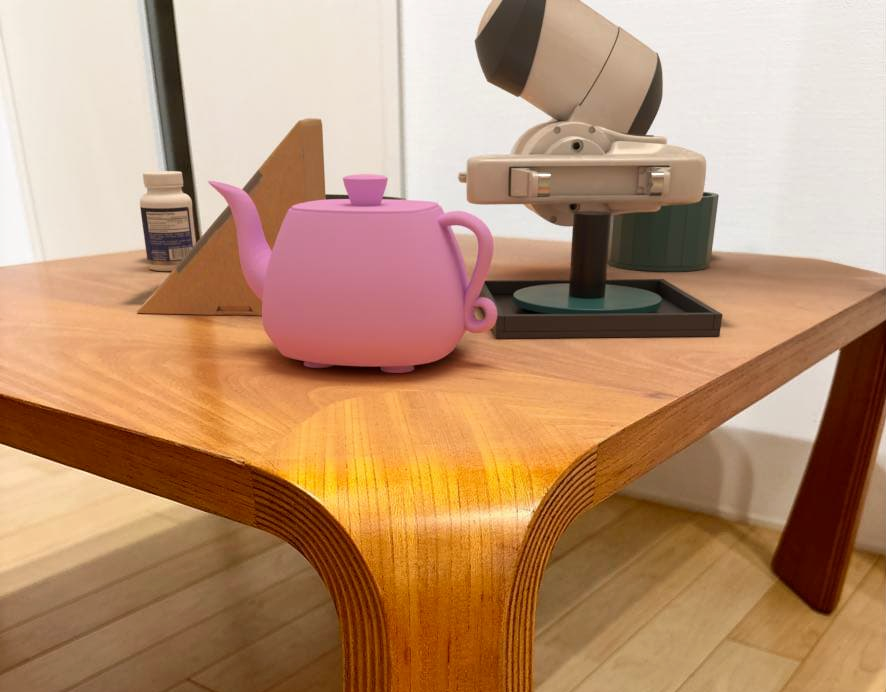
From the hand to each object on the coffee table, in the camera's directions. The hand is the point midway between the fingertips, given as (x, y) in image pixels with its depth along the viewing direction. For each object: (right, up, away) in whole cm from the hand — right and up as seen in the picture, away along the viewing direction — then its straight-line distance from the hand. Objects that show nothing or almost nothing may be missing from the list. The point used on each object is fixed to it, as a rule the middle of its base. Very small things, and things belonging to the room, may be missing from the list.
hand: (601, 185), depth 71 cm
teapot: (-18, -15, -7) cm, 25 cm away
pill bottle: (-42, +2, +29) cm, 51 cm away
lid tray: (0, -9, +5) cm, 10 cm away
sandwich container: (-31, -7, +9) cm, 33 cm away
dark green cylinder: (+12, +4, +32) cm, 35 cm away
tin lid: (0, -8, +5) cm, 9 cm away
